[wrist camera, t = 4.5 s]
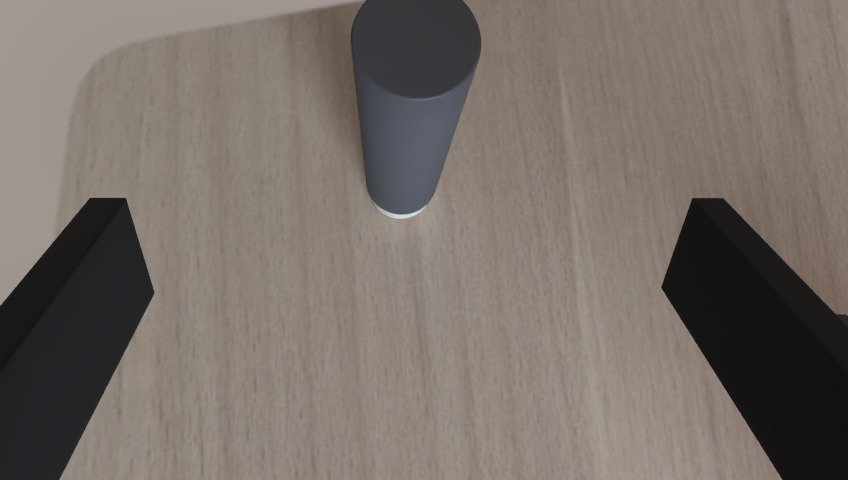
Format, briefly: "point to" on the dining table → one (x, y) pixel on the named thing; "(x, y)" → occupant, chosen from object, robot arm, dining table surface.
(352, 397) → the dining table surface
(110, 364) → the robot arm
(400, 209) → the grey cylinder
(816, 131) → the dining table surface
